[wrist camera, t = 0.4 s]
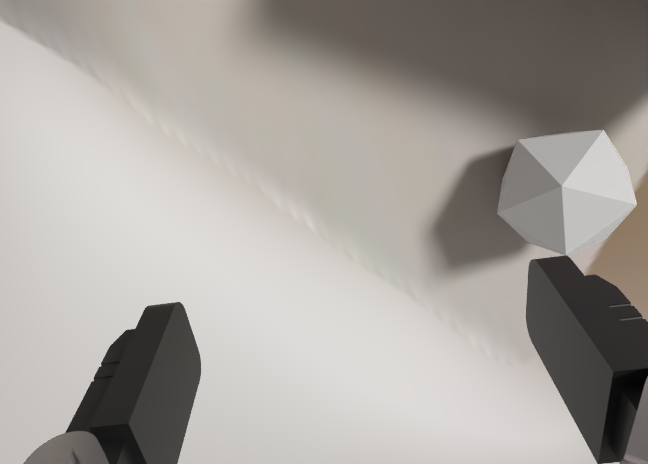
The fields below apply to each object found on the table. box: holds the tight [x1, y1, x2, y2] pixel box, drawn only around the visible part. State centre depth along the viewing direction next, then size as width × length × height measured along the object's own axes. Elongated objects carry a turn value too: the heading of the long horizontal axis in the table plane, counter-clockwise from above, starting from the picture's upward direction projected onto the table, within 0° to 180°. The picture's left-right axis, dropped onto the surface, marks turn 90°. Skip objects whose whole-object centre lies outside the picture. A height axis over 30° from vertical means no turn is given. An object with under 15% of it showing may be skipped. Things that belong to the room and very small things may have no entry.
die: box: [497, 130, 637, 255], centre depth 36 cm, size 8×9×10 cm
